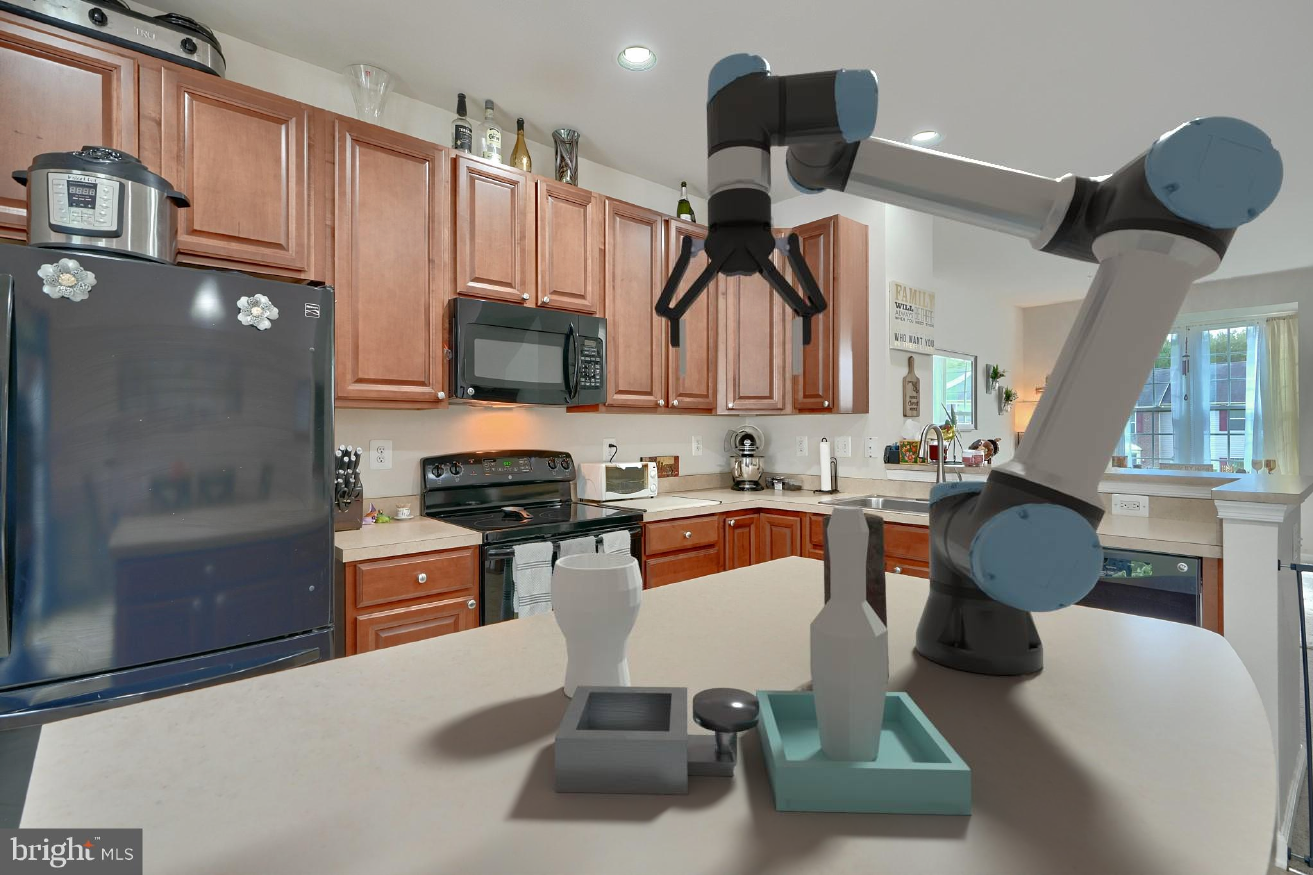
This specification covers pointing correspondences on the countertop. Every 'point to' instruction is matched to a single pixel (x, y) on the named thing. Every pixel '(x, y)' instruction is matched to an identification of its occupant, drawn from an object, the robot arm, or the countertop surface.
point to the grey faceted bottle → (849, 649)
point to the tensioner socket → (648, 738)
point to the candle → (873, 566)
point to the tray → (896, 781)
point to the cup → (596, 616)
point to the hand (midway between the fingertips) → (740, 374)
